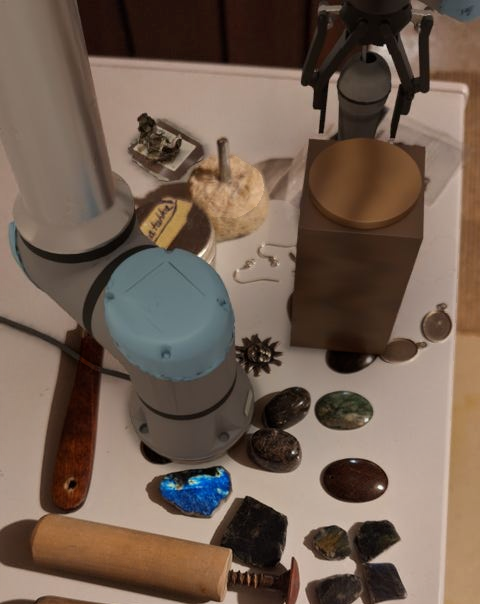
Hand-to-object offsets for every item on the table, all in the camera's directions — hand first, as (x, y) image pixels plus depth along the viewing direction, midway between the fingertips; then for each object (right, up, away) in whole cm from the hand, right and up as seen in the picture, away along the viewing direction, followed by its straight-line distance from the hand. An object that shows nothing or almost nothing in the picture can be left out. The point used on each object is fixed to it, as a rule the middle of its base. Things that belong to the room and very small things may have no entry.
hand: (357, 129), depth 90 cm
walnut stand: (-4, -27, -7) cm, 28 cm away
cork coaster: (-4, -18, -27) cm, 33 cm away
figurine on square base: (-28, -1, +6) cm, 28 cm away
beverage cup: (0, -2, +4) cm, 5 cm away
